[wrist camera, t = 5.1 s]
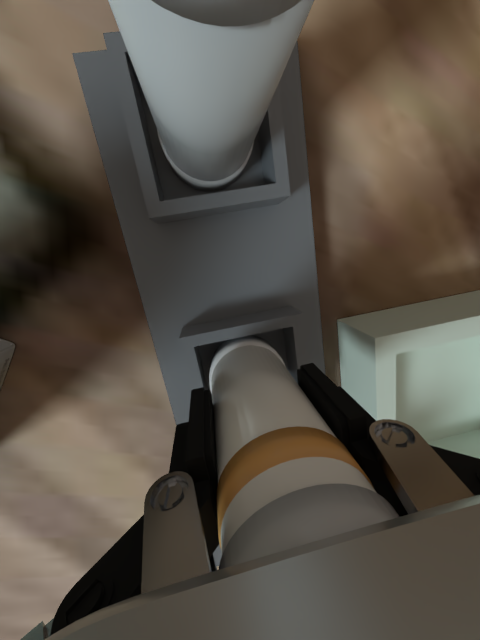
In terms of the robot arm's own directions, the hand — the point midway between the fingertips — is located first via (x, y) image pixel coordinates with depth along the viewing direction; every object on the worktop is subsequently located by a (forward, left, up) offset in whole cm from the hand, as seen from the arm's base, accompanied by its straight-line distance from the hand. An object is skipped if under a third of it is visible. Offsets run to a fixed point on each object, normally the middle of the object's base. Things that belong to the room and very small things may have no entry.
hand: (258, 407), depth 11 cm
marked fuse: (0, 0, -4) cm, 4 cm away
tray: (+5, +13, -6) cm, 15 cm away
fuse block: (0, 0, -6) cm, 6 cm away
